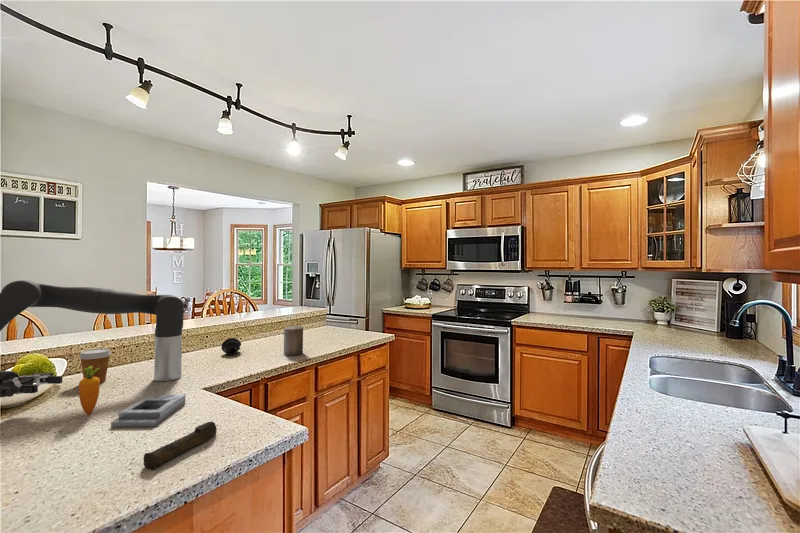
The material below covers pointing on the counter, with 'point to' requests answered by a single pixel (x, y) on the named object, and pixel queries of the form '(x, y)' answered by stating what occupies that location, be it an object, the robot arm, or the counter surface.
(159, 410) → the shallow gray tray
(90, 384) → the carrot
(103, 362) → the disposable coffee cup
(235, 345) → the black round flared piece
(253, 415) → the counter surface
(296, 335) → the pillar candle
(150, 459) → the dark brown stick
